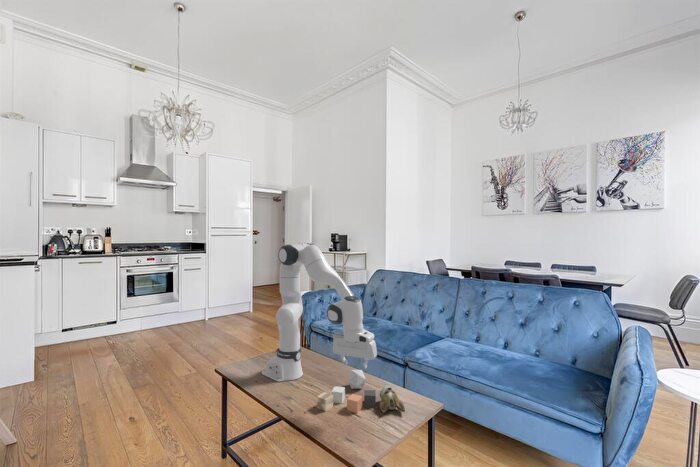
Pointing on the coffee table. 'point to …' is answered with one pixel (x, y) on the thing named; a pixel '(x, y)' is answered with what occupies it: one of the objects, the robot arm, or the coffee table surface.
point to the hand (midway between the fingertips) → (354, 366)
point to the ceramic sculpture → (390, 400)
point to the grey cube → (338, 394)
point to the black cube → (369, 398)
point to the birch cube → (325, 401)
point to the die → (356, 379)
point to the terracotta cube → (354, 403)
